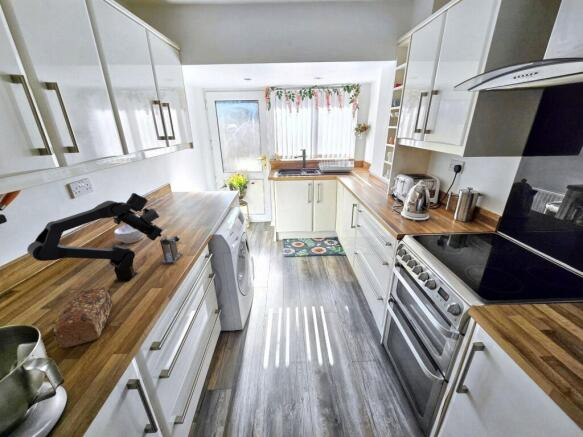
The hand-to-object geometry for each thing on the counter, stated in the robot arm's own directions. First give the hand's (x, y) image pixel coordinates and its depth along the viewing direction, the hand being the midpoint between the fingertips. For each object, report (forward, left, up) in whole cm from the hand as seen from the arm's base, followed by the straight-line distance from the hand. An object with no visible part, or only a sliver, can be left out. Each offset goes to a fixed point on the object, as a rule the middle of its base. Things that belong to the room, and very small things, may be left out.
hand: (160, 235), depth 118 cm
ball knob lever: (+2, -4, -5) cm, 7 cm away
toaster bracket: (-2, -4, -12) cm, 13 cm away
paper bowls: (+21, +31, -13) cm, 40 cm away
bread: (-44, +3, -13) cm, 46 cm away
